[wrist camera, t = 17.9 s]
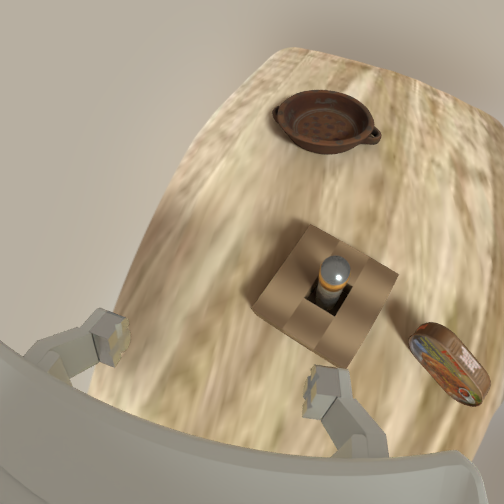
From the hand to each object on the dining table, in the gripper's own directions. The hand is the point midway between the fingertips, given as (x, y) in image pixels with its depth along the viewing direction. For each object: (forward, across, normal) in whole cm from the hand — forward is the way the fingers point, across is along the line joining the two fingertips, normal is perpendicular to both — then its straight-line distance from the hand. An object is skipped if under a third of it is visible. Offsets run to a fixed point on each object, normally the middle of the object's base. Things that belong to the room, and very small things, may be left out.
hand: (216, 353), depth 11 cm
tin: (+17, +29, -15) cm, 36 cm away
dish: (+50, +7, +9) cm, 51 cm away
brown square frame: (+25, +10, -12) cm, 29 cm away
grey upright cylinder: (+25, +10, -12) cm, 29 cm away
